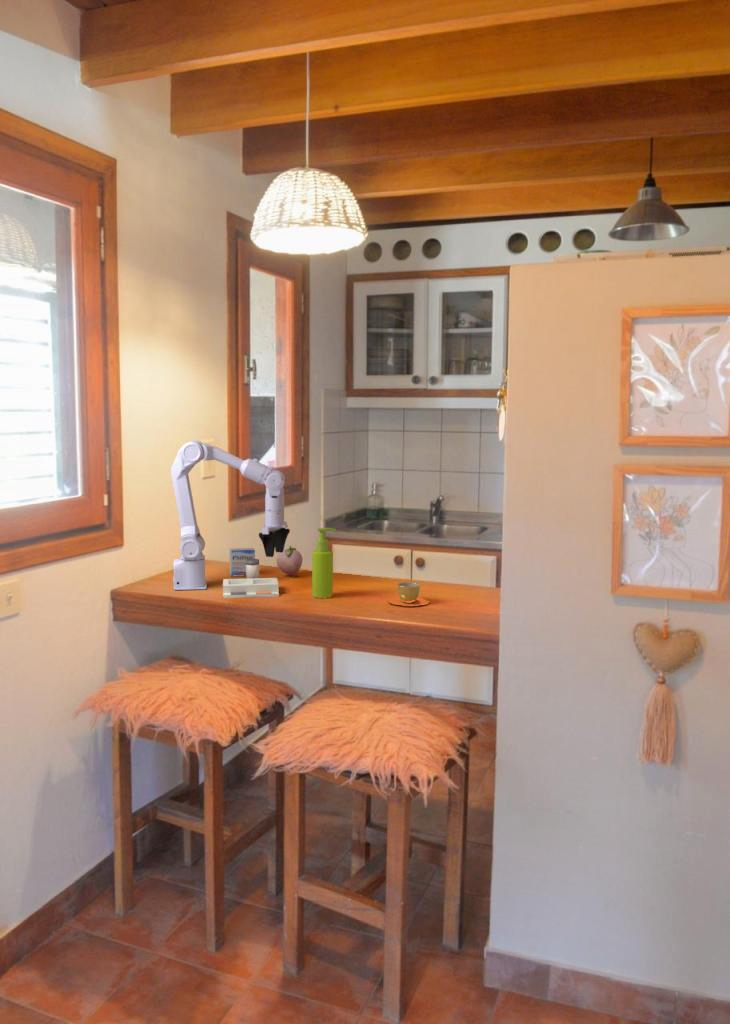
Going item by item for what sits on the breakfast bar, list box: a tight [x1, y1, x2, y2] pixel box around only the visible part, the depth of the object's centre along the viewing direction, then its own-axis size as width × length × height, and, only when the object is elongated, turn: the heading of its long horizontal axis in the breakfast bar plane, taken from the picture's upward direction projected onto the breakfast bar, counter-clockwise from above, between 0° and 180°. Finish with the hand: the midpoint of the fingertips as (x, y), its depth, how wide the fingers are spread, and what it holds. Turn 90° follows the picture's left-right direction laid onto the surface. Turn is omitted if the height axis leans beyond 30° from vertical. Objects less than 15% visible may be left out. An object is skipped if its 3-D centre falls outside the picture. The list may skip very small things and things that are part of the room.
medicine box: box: [229, 547, 256, 577], centre depth 255 cm, size 8×4×9 cm, turn 104°
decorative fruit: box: [276, 545, 303, 577], centre depth 253 cm, size 9×8×10 cm
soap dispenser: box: [311, 527, 337, 599], centre depth 227 cm, size 6×7×20 cm
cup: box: [397, 581, 421, 601], centre depth 222 cm, size 12×12×5 cm
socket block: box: [222, 577, 280, 599], centre depth 231 cm, size 16×12×3 cm
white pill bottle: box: [245, 558, 260, 579], centre depth 245 cm, size 4×4×7 cm
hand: (274, 554), depth 238 cm, fingers open, 7 cm apart
